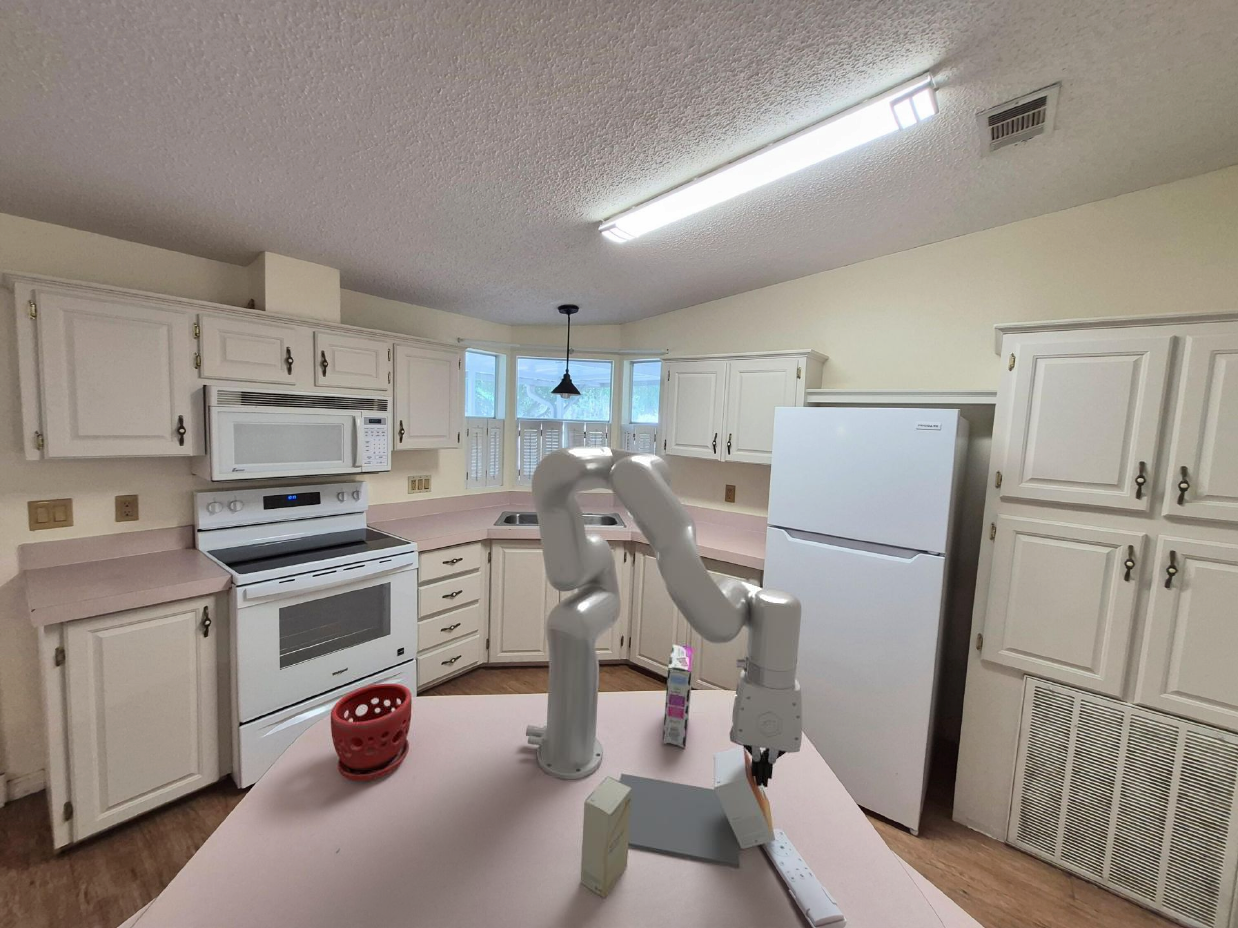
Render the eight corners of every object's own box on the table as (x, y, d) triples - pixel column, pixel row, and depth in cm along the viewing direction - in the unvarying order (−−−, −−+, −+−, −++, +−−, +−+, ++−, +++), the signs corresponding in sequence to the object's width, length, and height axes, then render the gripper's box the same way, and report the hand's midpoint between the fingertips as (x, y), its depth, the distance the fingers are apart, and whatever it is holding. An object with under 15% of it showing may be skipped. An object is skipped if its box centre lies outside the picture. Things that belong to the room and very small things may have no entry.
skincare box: (604, 899, 64) (609, 816, 63) (578, 881, 66) (582, 801, 65) (628, 864, 69) (633, 787, 68) (603, 848, 72) (607, 774, 71)
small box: (776, 842, 72) (747, 778, 72) (741, 850, 73) (713, 787, 73) (770, 801, 79) (744, 743, 80) (738, 809, 81) (713, 753, 81)
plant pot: (409, 732, 96) (410, 675, 95) (411, 777, 84) (412, 713, 83) (335, 748, 90) (335, 688, 89) (326, 799, 78) (326, 730, 77)
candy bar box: (686, 749, 95) (692, 671, 94) (661, 744, 96) (666, 667, 95) (689, 716, 106) (694, 646, 104) (667, 712, 107) (671, 643, 105)
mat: (607, 842, 73) (607, 838, 73) (621, 776, 87) (621, 773, 87) (739, 867, 70) (739, 864, 70) (732, 795, 84) (732, 792, 83)
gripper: (723, 676, 71) (714, 789, 73) (826, 690, 69) (815, 807, 71) (720, 653, 79) (712, 756, 80) (814, 664, 76) (804, 771, 78)
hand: (760, 779), depth 75 cm, fingers closed
